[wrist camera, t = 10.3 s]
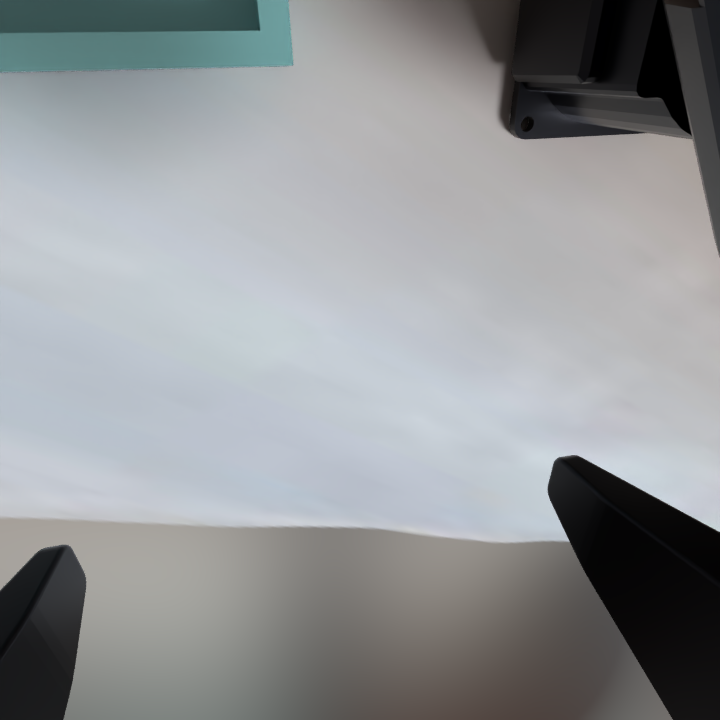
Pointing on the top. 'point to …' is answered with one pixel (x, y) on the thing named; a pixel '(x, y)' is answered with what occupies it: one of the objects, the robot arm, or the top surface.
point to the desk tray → (143, 34)
